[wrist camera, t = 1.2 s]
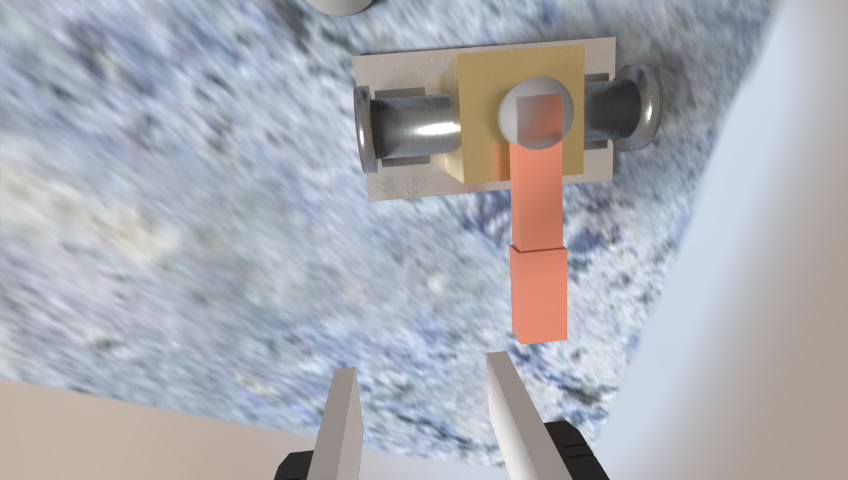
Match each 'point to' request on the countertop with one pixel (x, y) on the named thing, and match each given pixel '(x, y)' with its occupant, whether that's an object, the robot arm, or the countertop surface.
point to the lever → (537, 206)
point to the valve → (492, 114)
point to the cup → (339, 6)
